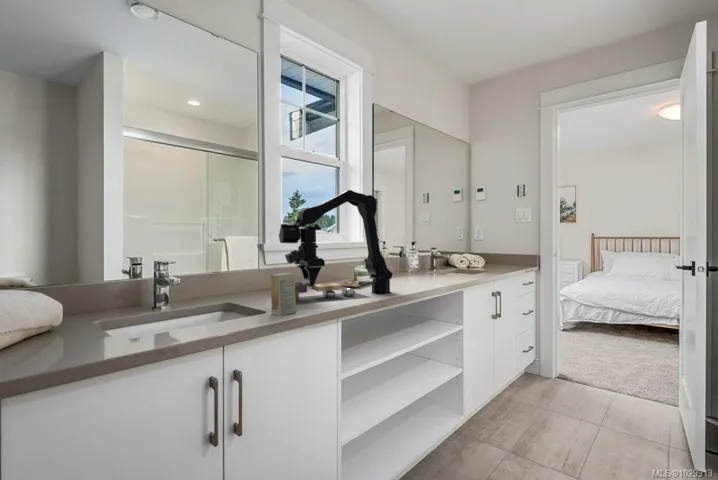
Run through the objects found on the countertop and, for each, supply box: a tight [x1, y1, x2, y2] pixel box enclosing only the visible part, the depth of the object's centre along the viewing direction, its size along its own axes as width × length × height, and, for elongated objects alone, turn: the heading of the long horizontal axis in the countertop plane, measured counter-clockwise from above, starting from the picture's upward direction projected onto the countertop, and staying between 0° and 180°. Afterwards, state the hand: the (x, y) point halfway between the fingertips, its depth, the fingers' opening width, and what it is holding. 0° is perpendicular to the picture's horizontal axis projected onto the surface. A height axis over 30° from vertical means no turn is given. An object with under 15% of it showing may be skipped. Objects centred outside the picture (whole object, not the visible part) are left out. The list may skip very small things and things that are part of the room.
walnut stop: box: [295, 281, 308, 303], centre depth 136 cm, size 6×10×6 cm, turn 25°
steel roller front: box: [322, 290, 337, 299], centre depth 141 cm, size 3×6×3 cm
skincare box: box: [270, 272, 297, 317], centre depth 114 cm, size 6×4×12 cm
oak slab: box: [311, 282, 345, 292], centre depth 141 cm, size 10×8×2 cm
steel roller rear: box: [341, 286, 356, 297], centre depth 145 cm, size 3×6×3 cm
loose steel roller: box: [302, 278, 316, 288], centre depth 138 cm, size 3×6×3 cm, turn 25°
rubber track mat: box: [296, 292, 372, 306], centre depth 141 cm, size 30×16×1 cm, turn 115°
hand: (309, 284), depth 138 cm, fingers closed on loose steel roller, 6 cm apart
